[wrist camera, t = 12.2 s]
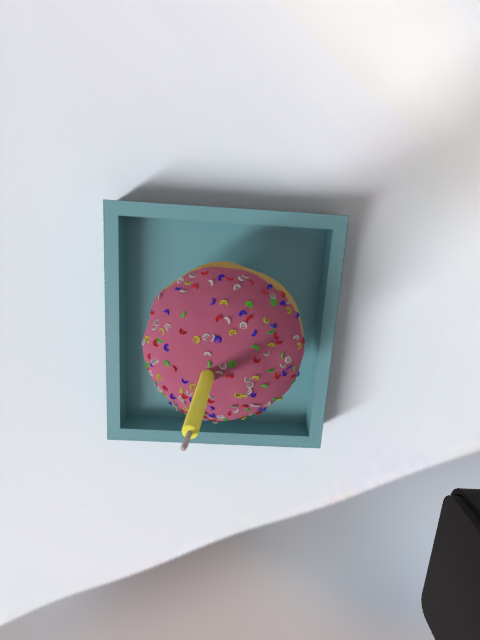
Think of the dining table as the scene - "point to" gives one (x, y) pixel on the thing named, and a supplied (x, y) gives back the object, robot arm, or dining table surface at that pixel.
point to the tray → (181, 257)
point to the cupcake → (223, 344)
